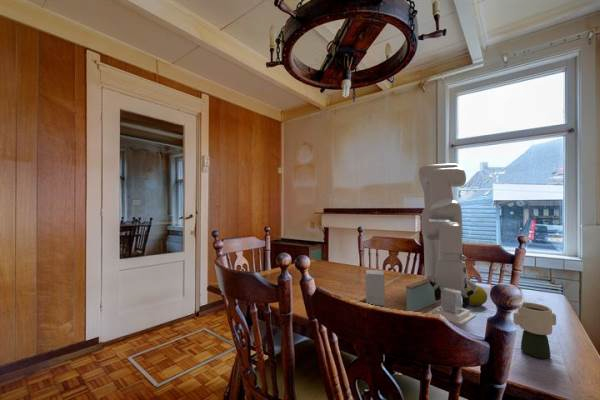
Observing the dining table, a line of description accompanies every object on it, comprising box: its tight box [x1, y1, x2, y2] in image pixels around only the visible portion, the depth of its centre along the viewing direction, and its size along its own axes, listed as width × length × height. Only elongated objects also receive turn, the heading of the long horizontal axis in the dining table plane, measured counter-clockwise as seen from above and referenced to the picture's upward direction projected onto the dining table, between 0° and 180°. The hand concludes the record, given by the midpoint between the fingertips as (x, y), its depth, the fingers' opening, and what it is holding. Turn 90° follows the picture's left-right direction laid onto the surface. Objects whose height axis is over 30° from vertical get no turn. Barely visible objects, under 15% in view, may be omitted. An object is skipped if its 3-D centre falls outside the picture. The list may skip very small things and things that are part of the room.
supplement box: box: [365, 269, 386, 306], centre depth 115 cm, size 7×7×13 cm
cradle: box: [427, 305, 477, 326], centre depth 101 cm, size 12×12×2 cm
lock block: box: [440, 289, 463, 315], centre depth 101 cm, size 5×5×8 cm
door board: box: [405, 278, 439, 313], centre depth 110 cm, size 20×2×10 cm, turn 127°
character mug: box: [513, 301, 557, 359], centre depth 75 cm, size 11×7×13 cm, turn 87°
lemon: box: [461, 285, 488, 307], centre depth 111 cm, size 11×8×8 cm
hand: (451, 303), depth 101 cm, fingers open, 9 cm apart
